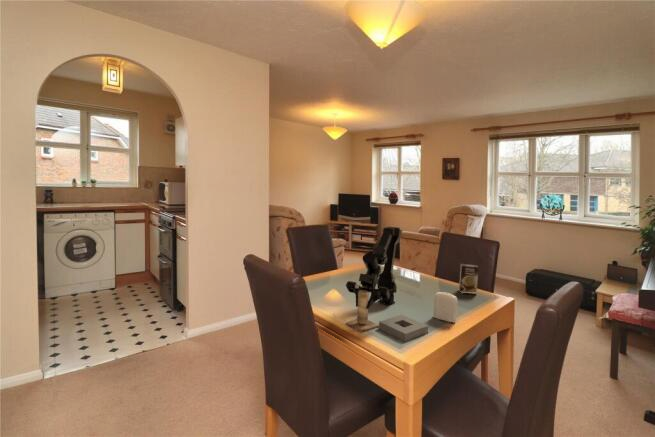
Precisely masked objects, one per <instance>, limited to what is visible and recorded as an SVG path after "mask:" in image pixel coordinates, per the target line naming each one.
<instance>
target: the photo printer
mask: <svg viewBox="0 0 655 437" xmlns="http://www.w3.org/2000/svg"><path fill="white" fill-rule="evenodd" d="M433 300H434V301H433V302H434V303H433V318H435V319H438V320H441V321H444V322H448V323H451V322H456V323H457V316H458V315H457V313H458V312H457V311H458V296H456V295H454V294H452V293H449V292H444V291H439V292H436V293H435V294H434V299H433Z"/></svg>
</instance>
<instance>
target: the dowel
mask: <svg viewBox="0 0 655 437" xmlns="http://www.w3.org/2000/svg"><path fill="white" fill-rule="evenodd" d="M369 295H370V292H368V291H365V290H360V291H358V307H357V313H356V314H357V315H356V316H357V318H356V319H357V322H358V323H361V324H366V323H367V322H368V320H369V319H368V318H369V317H368V316H369V309H367V304H368V301H369V299H370V296H369Z"/></svg>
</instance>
